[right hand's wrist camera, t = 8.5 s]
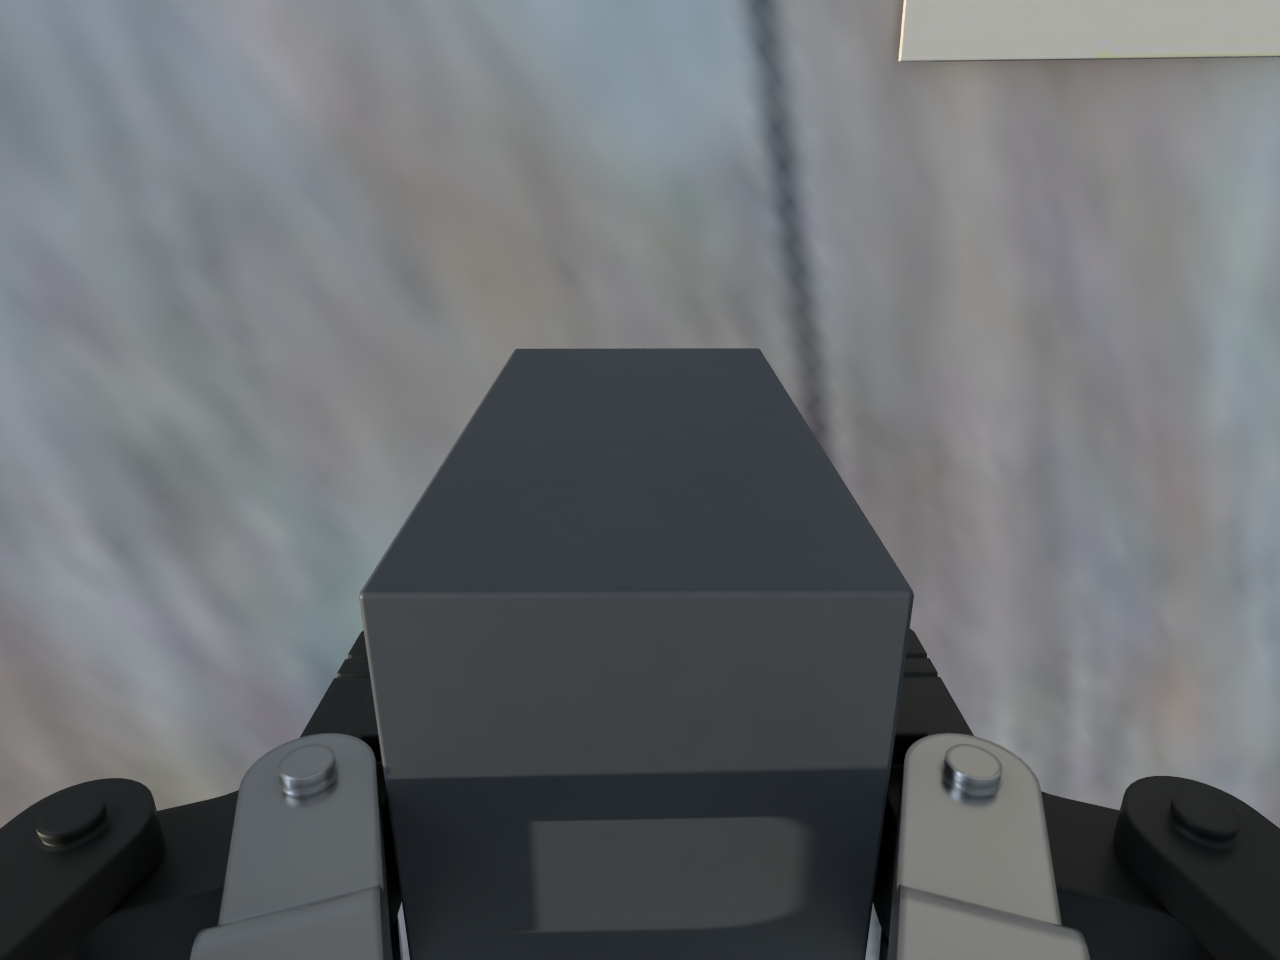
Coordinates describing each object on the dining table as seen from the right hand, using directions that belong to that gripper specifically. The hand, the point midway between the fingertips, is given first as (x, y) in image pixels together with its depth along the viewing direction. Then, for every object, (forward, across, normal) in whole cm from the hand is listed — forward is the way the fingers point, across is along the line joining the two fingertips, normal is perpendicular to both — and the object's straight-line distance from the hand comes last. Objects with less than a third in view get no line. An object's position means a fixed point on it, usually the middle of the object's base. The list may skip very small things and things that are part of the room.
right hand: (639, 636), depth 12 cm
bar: (+5, 0, -11) cm, 12 cm away
